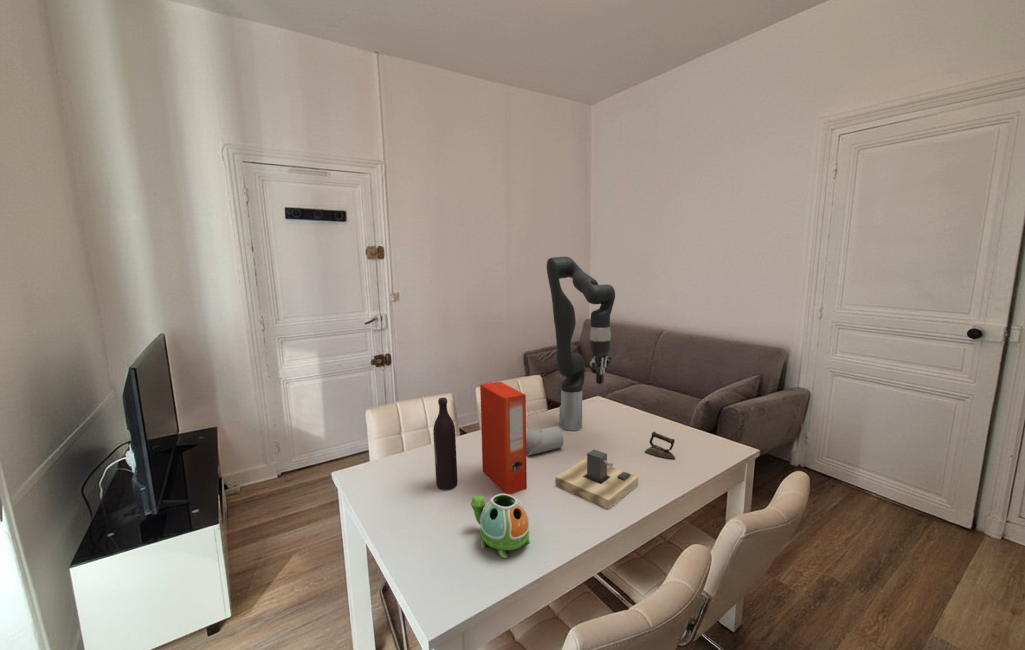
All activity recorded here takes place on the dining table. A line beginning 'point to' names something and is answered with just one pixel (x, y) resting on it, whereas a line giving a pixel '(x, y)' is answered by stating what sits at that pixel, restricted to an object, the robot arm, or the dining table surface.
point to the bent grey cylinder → (543, 440)
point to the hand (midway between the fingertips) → (599, 383)
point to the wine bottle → (445, 449)
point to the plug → (597, 466)
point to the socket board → (597, 484)
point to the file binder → (504, 436)
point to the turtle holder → (501, 522)
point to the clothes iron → (660, 448)
